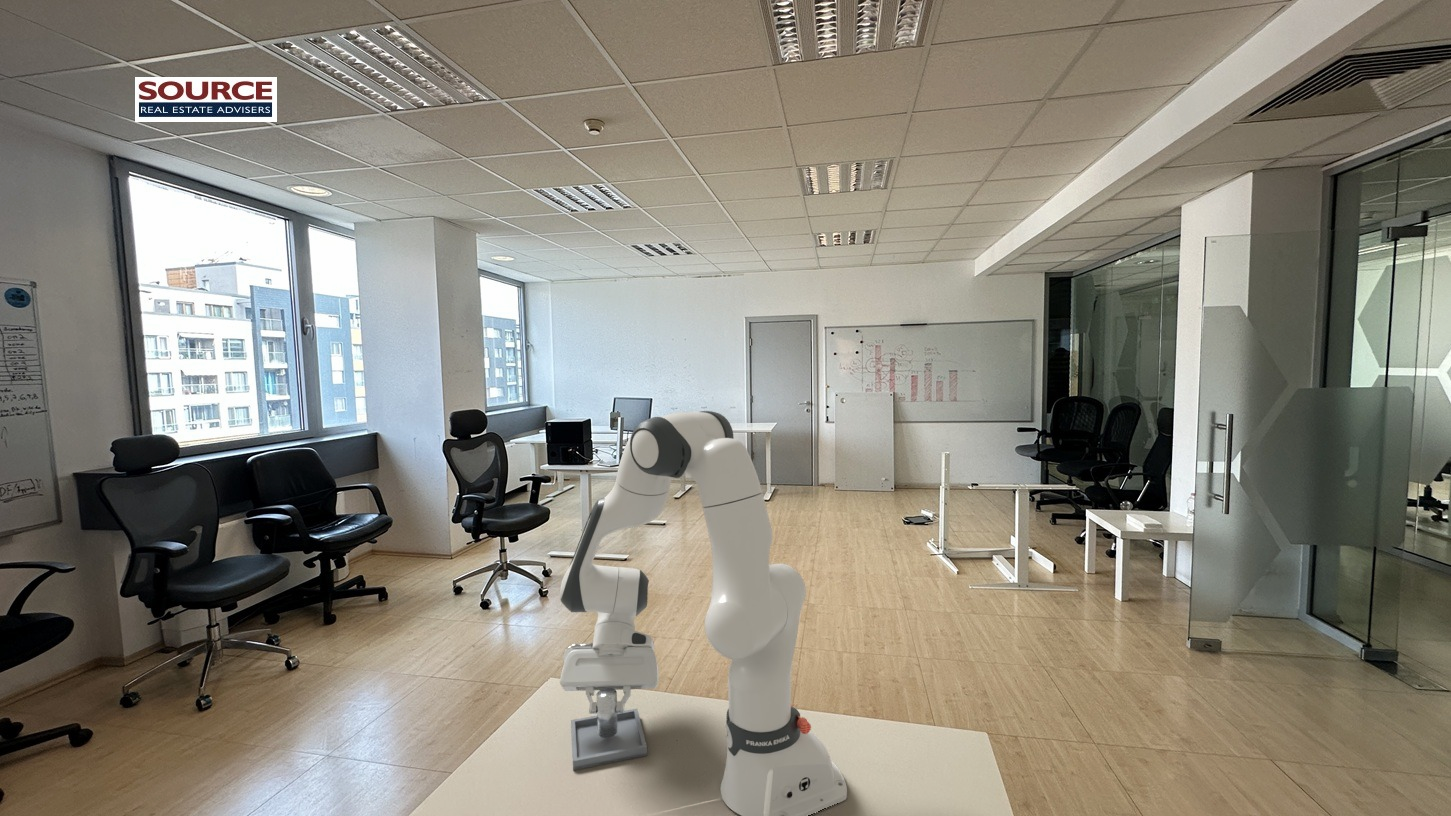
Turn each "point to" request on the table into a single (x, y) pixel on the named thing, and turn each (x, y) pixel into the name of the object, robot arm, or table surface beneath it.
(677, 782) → the table surface
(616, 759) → the parts tray
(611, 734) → the glossy grey cylinder
